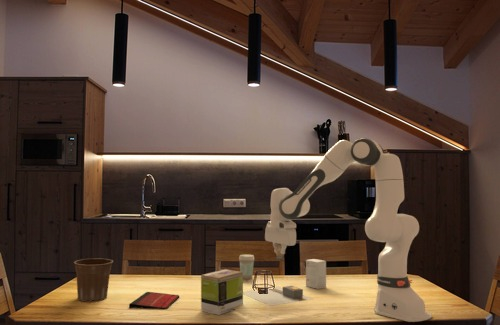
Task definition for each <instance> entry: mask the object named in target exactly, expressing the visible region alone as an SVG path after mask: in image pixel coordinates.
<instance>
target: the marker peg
mask: <svg viewBox="0 0 500 325" xmlns="http://www.w3.org/2000/svg"><path fill="white" fill-rule="evenodd" d="M281 248H282V246H281V244H279V243H278V244H277V245H276V252H275V254H276V255H275V256H276V261H283V260H284V254H280V250H281Z"/></svg>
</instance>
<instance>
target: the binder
mask: <svg viewBox="0 0 500 325" xmlns="http://www.w3.org/2000/svg"><path fill="white" fill-rule="evenodd" d="M179 299H180V295H179V294H170V293H163V292H152V291H145V292H144V293H143V294H142V295H140V296H139V297H137V298H136V299H134V300H133V301H132V302H130V303H129V304H128V309H131V308H133V307H135V308H141V309H142V310H144V309H145V310H146V309H147V310H167V309H169V307H171V305H172V304H174V302H175V301H176V300H179Z"/></svg>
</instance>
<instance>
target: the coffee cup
mask: <svg viewBox="0 0 500 325" xmlns="http://www.w3.org/2000/svg"><path fill="white" fill-rule="evenodd" d="M238 261H239V262H238V263H239V272H243V279H244V280H251V279H253V272H254V265H255V256H254V254H250V253H249V254H246V253H245V254H240V255H239V257H238Z"/></svg>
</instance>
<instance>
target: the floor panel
mask: <svg viewBox="0 0 500 325" xmlns="http://www.w3.org/2000/svg"><path fill="white" fill-rule="evenodd" d="M274 287H275V288H274V289H273V290H272V289H269V292H268V294H259V293H258V292H257V291H254V290H255V289H251V290H243V296H244V295H245V296H246V297H249V298H251V299H254V300H255V301H258V302H261V303H263V304H265V305H268V306H270V307H272V306H277V305H283V304H290V303H297V302H302V301H307V300H308V301H309V300H313V298H311V297H309V296H306V295H303V298H296V299H292V298H290V297H287V296H284V295H283V287H280V286H274Z"/></svg>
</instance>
